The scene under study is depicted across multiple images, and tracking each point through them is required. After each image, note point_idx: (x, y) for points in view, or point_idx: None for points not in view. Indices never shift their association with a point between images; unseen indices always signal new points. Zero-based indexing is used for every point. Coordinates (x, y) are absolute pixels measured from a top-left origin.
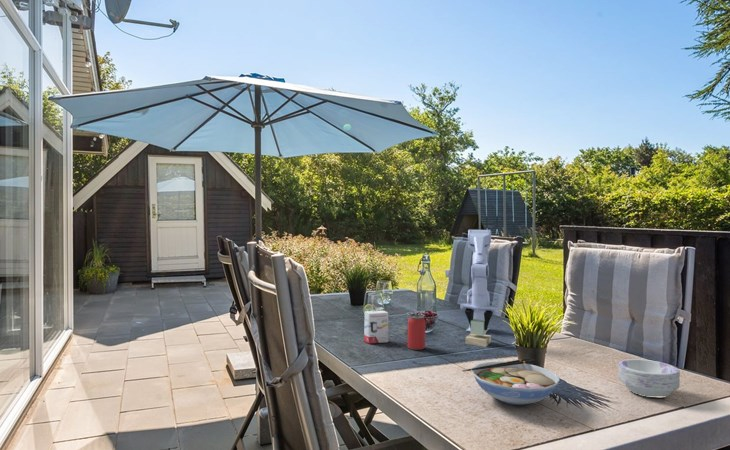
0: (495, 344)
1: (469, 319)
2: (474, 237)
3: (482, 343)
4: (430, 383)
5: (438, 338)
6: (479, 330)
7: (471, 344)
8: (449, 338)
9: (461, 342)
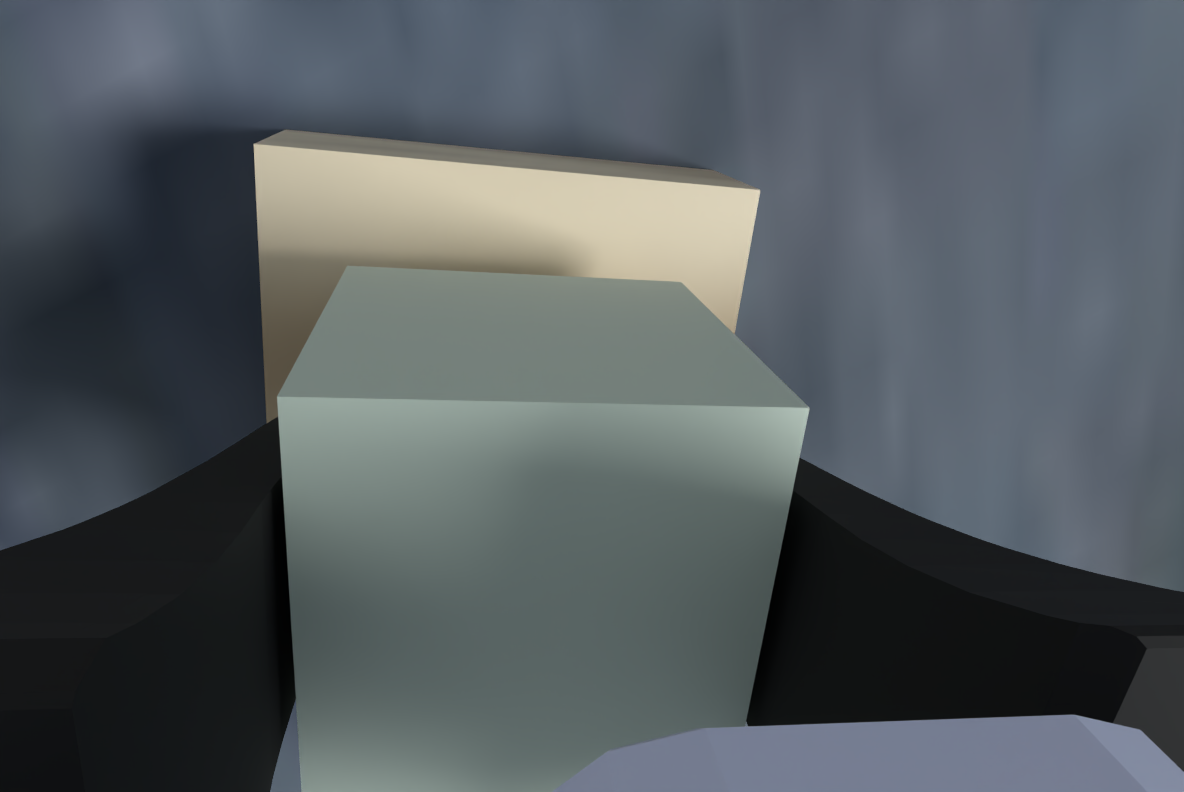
0: (168, 404)
1: (879, 520)
2: None
3: (355, 140)
4: None
5: (1177, 319)
6: (453, 306)
7: (595, 159)
8: (1003, 406)
9: (794, 241)
